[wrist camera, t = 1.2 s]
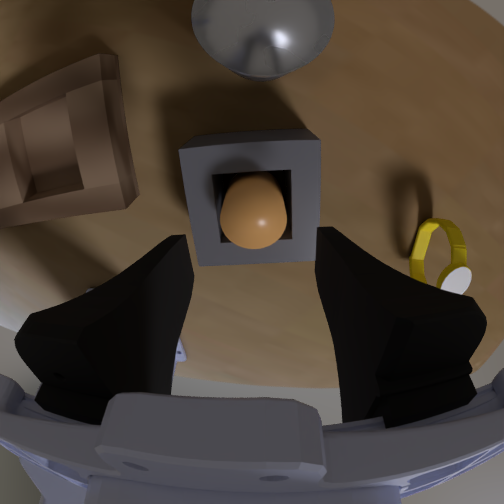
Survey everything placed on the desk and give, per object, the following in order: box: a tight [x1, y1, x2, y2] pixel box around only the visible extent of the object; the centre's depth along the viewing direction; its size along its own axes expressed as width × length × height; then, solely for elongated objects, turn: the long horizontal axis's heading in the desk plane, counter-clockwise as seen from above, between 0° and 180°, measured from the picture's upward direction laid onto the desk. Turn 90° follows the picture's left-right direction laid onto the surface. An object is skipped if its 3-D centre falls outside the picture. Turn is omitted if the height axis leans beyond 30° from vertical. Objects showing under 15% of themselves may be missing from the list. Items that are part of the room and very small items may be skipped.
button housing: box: [178, 129, 321, 266], centre depth 17 cm, size 7×7×4 cm
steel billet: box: [191, 0, 334, 82], centre depth 11 cm, size 5×5×8 cm
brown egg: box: [220, 171, 287, 249], centre depth 15 cm, size 3×3×4 cm
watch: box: [409, 218, 472, 295], centre depth 18 cm, size 6×3×6 cm, turn 176°
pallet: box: [0, 53, 140, 229], centre depth 16 cm, size 10×24×2 cm, turn 94°
